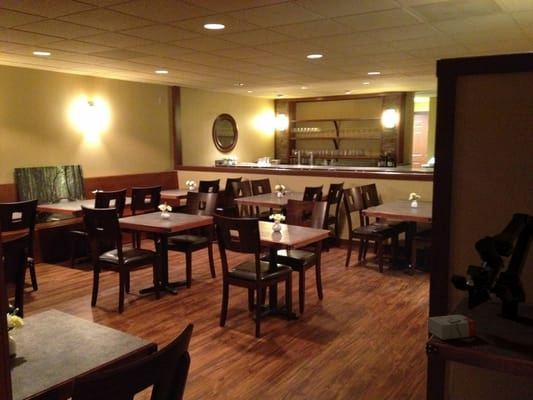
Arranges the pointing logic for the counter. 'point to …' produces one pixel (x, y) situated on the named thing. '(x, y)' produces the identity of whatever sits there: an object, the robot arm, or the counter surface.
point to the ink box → (452, 326)
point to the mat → (467, 339)
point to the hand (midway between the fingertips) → (469, 309)
